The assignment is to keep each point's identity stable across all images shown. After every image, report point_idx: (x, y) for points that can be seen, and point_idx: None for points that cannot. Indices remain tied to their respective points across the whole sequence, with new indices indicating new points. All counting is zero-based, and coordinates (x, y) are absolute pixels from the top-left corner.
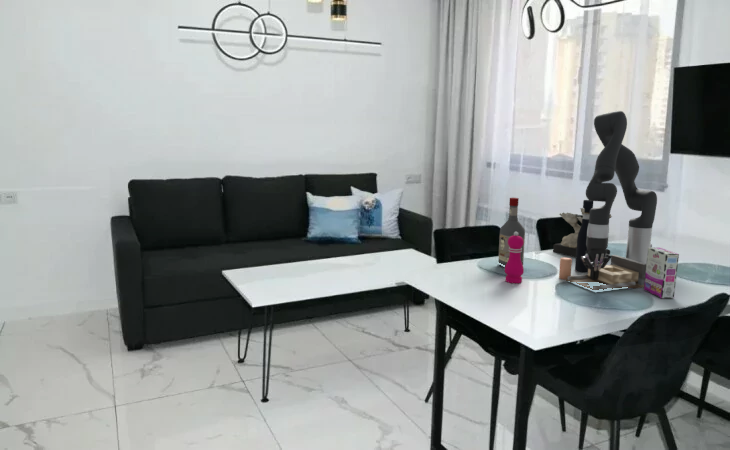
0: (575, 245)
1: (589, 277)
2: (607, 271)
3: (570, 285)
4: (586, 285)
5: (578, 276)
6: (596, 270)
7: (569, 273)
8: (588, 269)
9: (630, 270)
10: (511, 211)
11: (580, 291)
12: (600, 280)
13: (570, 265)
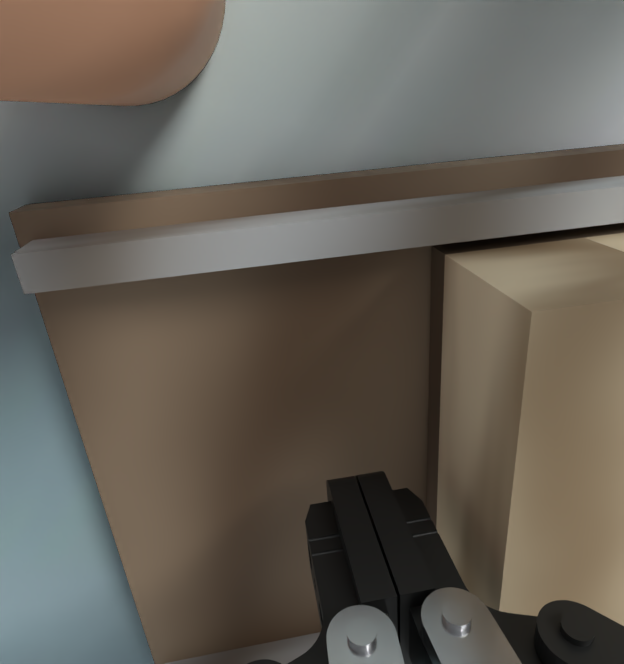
0: None
1: (434, 294)
2: (596, 610)
3: (14, 405)
4: (175, 546)
5: (253, 263)
6: (410, 653)
7: (132, 99)
8: (501, 303)
9: None
10: None
11: (35, 611)
12: (436, 496)
13: (103, 89)
